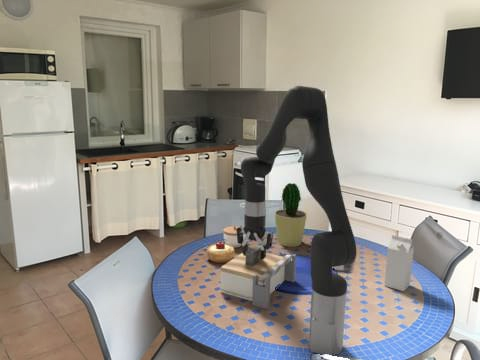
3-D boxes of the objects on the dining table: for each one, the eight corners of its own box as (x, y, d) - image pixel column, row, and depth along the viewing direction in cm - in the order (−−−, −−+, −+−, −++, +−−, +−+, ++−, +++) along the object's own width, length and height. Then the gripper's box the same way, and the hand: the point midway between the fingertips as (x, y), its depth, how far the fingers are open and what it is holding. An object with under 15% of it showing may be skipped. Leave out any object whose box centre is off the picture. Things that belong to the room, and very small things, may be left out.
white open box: (267, 309, 129) (268, 279, 127) (217, 294, 138) (217, 266, 136) (295, 280, 150) (296, 254, 148) (249, 269, 159) (250, 245, 157)
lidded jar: (220, 242, 190) (220, 223, 188) (241, 240, 193) (242, 222, 191) (226, 250, 179) (226, 230, 178) (248, 248, 183) (249, 228, 181)
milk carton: (390, 279, 152) (395, 232, 148) (409, 285, 148) (415, 237, 144) (384, 286, 147) (388, 237, 143) (403, 292, 142) (409, 242, 138)
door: (262, 285, 128) (263, 266, 127) (217, 273, 137) (217, 255, 135) (291, 259, 150) (292, 243, 148) (250, 250, 158) (250, 235, 157)
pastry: (201, 259, 170) (200, 240, 168) (221, 252, 178) (221, 233, 176) (220, 267, 161) (219, 246, 160) (240, 259, 170) (240, 239, 168)
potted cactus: (310, 240, 193) (313, 181, 187) (298, 250, 180) (301, 186, 174) (281, 235, 201) (283, 177, 195) (268, 244, 188) (270, 182, 182)
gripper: (232, 212, 140) (231, 256, 143) (268, 218, 133) (267, 264, 136) (242, 207, 146) (241, 250, 149) (277, 213, 139) (276, 257, 143)
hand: (254, 257), depth 143 cm, fingers open, 6 cm apart
